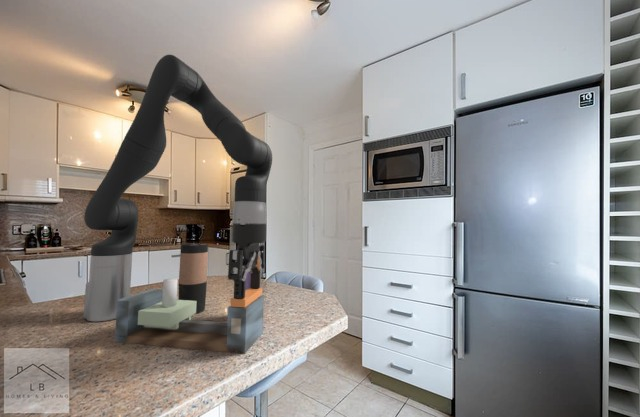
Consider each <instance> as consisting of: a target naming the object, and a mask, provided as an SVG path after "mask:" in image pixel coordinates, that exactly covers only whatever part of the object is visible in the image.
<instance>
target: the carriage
mask: <svg viewBox="0 0 640 417" xmlns="http://www.w3.org/2000/svg"><path fill="white" fill-rule="evenodd" d="M178 286H179V278H167V279H163V281H162V290H163V295H162V302H160V303H157V304H155V305H152V306H149V307H147V308H144V309H142V310H139V311H138V325H144V327H152V328H165V329H178V328H179V322H181V321H183V320H192V316H193V315H196V314H195V313H196V303H197V301H190V300H179V299H178Z"/></svg>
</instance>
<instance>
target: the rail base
mask: <svg viewBox="0 0 640 417" xmlns="http://www.w3.org/2000/svg"><path fill="white" fill-rule="evenodd" d="M162 295H163V288H162V289H161V288H160V289H159V288H158V289H157V288H151V289H148V290H146V291H142V292H139V293H135V294H133V295H130V296H129V297H126V298H123V299H119V300H117V313H116V319H115V331H114V332H115V333H114V342H115V343H125V344H127V343H128V344H137V345H148V346H160V347H169V348H179V349H181V348H182V349H189V350H190V349H192V350H202V351H213V352H225V353H232V354H234V353H236V354H246V353H247V352H248V351H249V349H250V348H251V347H252V346H253V345H254V344H255V342H257V340H259V338H260V337H261V335H262V334H264V303H265V302H264V300H265V298H264V297H265V295H263V294H262V295H261V296H260V297H258V298H257V299H256V300H254V301H253V302H252V303H250V304H249V305H248V306H246V307H245V308H243V307H230V306H228V307H227V322H224V321H223V322H222V321H221V322H220V321H209V320H195V319H191V320H183V321H181V322H179V328H178V329H165V328H152V327H144V325H138V311H139V310H142V309H144V308H147V307H149V306H152V305H155V304H157V303H160V302H162Z"/></svg>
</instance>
